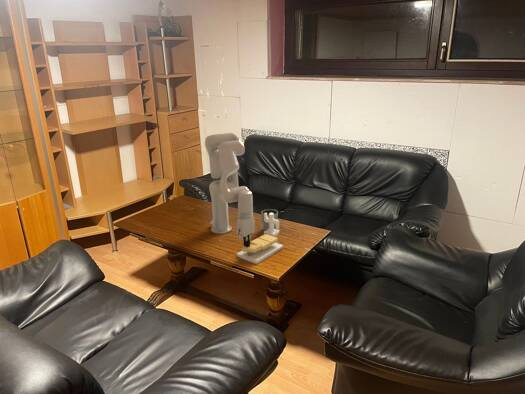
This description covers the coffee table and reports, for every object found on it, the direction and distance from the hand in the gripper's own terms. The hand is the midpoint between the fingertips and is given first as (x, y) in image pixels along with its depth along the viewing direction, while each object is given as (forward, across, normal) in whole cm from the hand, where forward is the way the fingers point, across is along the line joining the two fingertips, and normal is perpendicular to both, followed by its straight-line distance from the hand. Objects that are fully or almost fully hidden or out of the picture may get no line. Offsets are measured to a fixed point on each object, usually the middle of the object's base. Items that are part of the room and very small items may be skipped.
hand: (247, 245), depth 208 cm
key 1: (0, -14, +3) cm, 14 cm away
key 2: (0, -7, +3) cm, 8 cm away
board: (+6, -7, +3) cm, 10 cm away
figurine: (+6, -26, -4) cm, 26 cm away
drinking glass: (+6, -33, -11) cm, 35 cm away
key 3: (0, 0, +3) cm, 3 cm away
